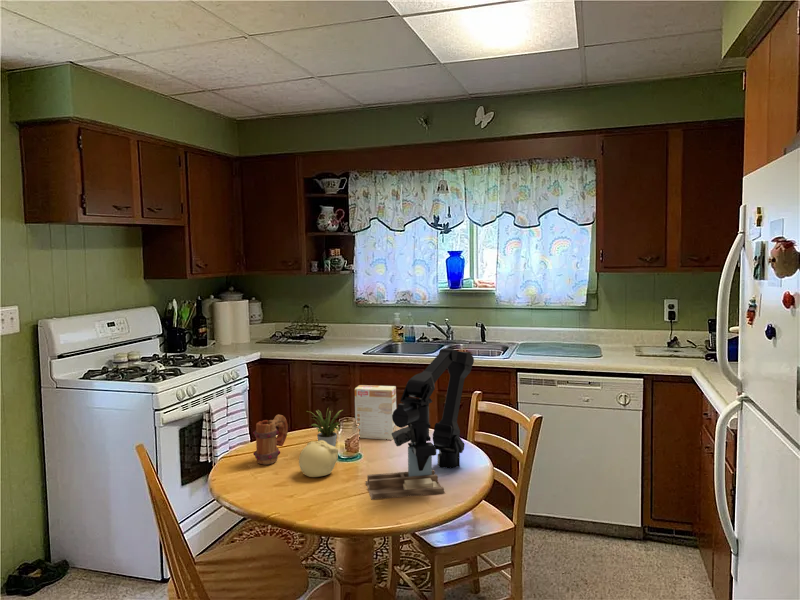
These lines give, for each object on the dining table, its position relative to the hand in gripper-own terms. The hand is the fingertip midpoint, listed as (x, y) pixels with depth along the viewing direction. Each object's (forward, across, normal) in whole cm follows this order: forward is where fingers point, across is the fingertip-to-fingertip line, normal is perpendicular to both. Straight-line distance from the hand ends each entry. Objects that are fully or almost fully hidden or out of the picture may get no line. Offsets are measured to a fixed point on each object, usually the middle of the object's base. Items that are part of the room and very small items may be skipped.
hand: (420, 469), depth 188 cm
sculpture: (+5, -16, -30) cm, 35 cm away
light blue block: (+4, 0, 0) cm, 4 cm away
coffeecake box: (+5, -51, -6) cm, 52 cm away
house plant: (+5, -37, -28) cm, 46 cm away
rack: (+5, +3, -6) cm, 8 cm away
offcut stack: (+4, +6, -1) cm, 7 cm away
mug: (+5, -32, -46) cm, 56 cm away
